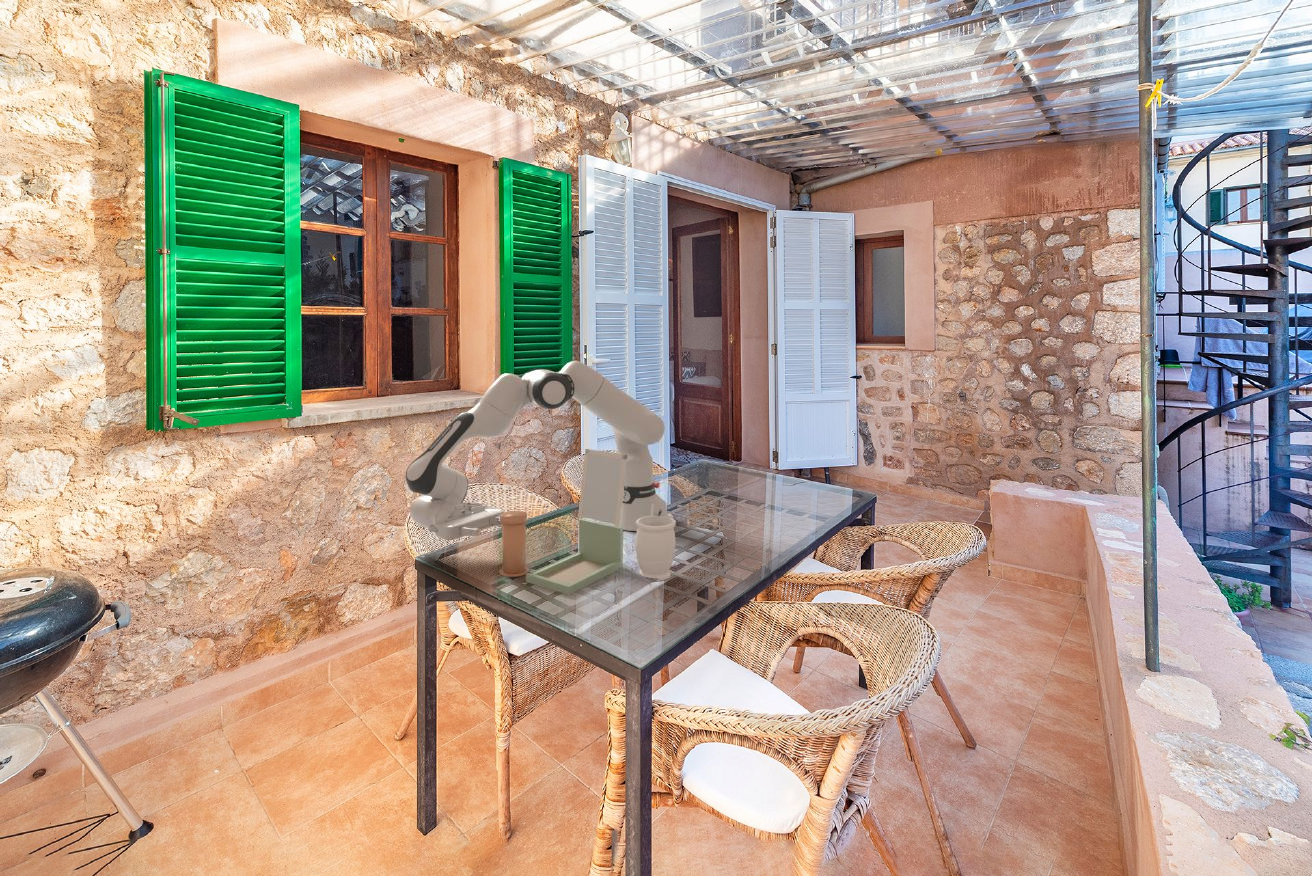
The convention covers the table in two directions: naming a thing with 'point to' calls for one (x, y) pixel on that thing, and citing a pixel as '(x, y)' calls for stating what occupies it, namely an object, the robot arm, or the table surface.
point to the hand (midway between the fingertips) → (491, 528)
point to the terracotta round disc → (513, 574)
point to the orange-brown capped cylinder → (514, 541)
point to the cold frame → (584, 559)
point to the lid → (602, 486)
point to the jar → (655, 546)
